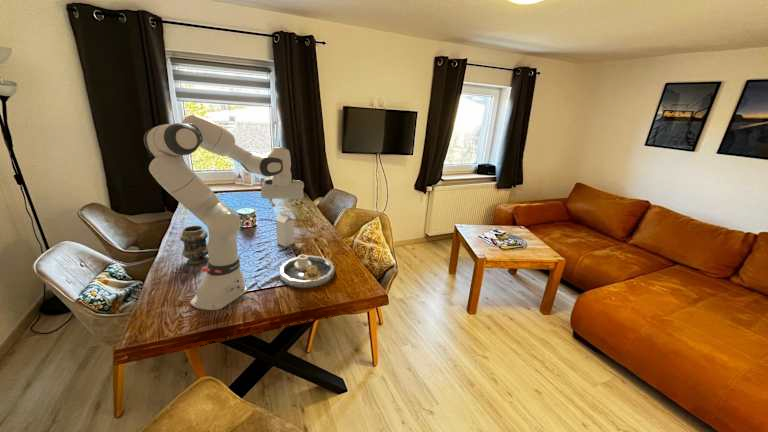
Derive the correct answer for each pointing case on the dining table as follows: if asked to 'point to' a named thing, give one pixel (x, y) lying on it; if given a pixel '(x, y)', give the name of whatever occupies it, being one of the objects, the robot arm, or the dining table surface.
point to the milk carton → (285, 230)
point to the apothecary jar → (195, 245)
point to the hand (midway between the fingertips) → (283, 206)
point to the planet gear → (301, 262)
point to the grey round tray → (307, 273)
